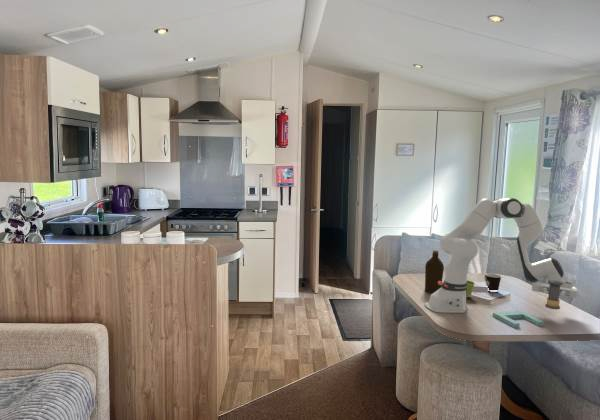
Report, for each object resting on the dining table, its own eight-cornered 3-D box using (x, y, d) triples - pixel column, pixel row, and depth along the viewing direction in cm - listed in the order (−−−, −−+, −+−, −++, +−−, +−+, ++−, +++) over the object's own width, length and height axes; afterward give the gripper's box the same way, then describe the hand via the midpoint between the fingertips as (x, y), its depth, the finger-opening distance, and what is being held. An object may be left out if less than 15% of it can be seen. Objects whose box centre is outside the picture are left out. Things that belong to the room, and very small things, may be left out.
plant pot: (471, 300, 262) (472, 285, 261) (454, 297, 267) (456, 282, 266) (475, 296, 270) (476, 281, 269) (458, 293, 275) (459, 279, 274)
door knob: (552, 309, 223) (554, 283, 221) (542, 305, 229) (544, 280, 227) (563, 309, 224) (565, 283, 223) (552, 304, 230) (555, 279, 229)
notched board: (514, 327, 221) (514, 323, 221) (492, 316, 237) (492, 312, 236) (543, 325, 225) (543, 321, 225) (520, 314, 241) (520, 310, 241)
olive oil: (440, 295, 270) (443, 253, 267) (422, 292, 274) (424, 251, 271) (443, 290, 279) (446, 250, 276) (425, 287, 284) (428, 248, 281)
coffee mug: (501, 294, 276) (502, 277, 275) (486, 292, 278) (487, 276, 276) (497, 288, 287) (498, 273, 286) (482, 287, 289) (483, 272, 288)
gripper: (533, 277, 242) (531, 283, 230) (578, 284, 231) (578, 291, 219) (532, 289, 242) (529, 295, 231) (576, 296, 232) (577, 303, 220)
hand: (554, 293), depth 225 cm, fingers closed on door knob, 5 cm apart
